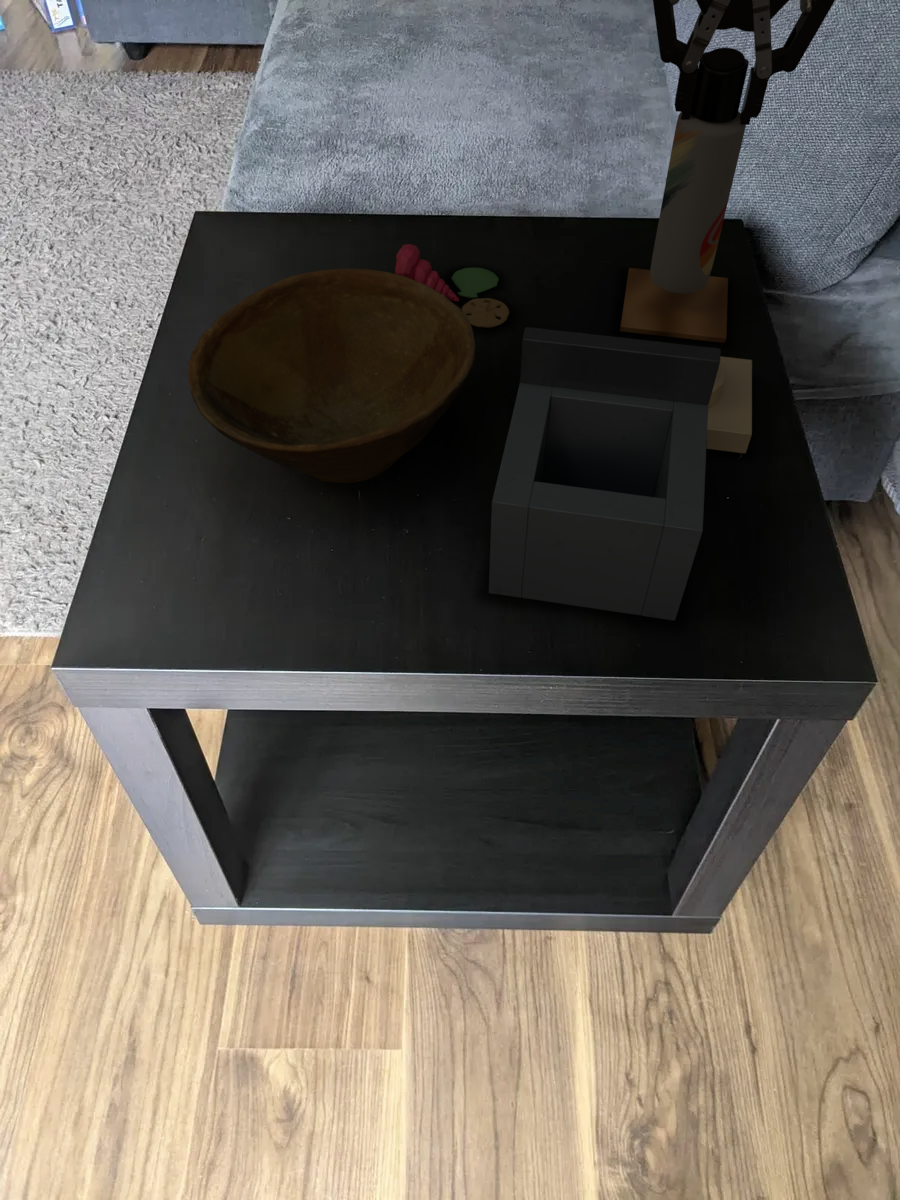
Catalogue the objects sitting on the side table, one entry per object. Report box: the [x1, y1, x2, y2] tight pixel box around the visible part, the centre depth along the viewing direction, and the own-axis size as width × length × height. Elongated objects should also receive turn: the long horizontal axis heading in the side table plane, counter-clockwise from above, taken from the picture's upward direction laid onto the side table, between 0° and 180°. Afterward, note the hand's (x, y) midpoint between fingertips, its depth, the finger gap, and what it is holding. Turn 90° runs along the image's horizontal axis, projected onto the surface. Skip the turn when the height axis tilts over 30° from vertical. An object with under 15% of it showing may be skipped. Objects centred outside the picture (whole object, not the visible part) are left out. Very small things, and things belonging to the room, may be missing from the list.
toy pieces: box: [394, 243, 510, 329], centre depth 92 cm, size 12×11×4 cm
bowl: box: [187, 267, 477, 484], centre depth 77 cm, size 22×23×10 cm
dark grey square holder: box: [488, 326, 722, 622], centre depth 68 cm, size 14×14×14 cm
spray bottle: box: [649, 47, 749, 294], centre depth 82 cm, size 6×6×20 cm
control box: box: [706, 355, 753, 454], centre depth 82 cm, size 12×10×4 cm
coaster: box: [619, 267, 729, 344], centre depth 92 cm, size 10×10×1 cm
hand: (715, 116), depth 78 cm, fingers closed on spray bottle, 4 cm apart
